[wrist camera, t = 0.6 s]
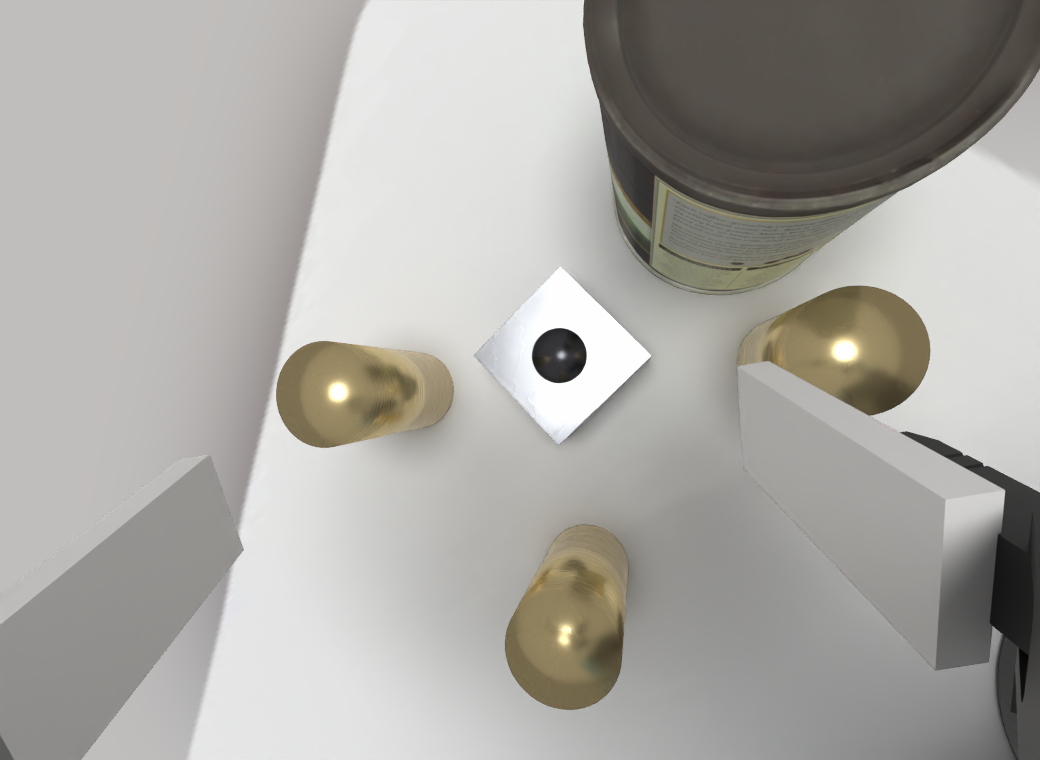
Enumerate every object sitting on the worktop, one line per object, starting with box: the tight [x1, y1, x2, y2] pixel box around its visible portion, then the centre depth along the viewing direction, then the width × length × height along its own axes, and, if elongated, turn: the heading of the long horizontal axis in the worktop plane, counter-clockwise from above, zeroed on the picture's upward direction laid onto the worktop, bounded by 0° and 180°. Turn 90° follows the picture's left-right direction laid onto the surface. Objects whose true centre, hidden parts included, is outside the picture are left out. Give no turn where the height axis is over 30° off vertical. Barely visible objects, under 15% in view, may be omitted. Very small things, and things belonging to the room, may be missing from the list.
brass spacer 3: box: [737, 286, 930, 416], centre depth 21 cm, size 4×4×9 cm
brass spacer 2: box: [505, 525, 628, 710], centre depth 23 cm, size 4×4×9 cm
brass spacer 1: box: [276, 341, 453, 448], centre depth 25 cm, size 4×4×9 cm
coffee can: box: [583, 0, 1040, 295], centre depth 20 cm, size 10×10×14 cm
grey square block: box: [474, 266, 651, 445], centre depth 26 cm, size 6×6×4 cm
